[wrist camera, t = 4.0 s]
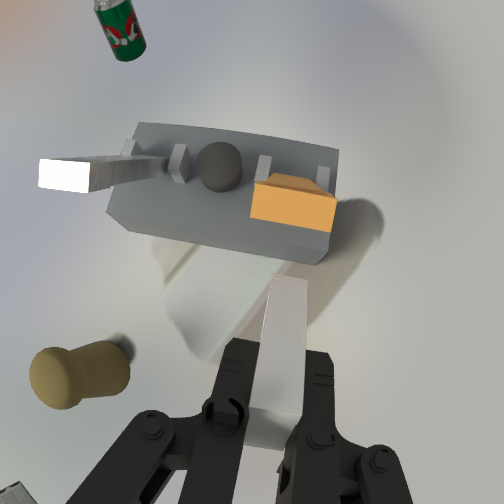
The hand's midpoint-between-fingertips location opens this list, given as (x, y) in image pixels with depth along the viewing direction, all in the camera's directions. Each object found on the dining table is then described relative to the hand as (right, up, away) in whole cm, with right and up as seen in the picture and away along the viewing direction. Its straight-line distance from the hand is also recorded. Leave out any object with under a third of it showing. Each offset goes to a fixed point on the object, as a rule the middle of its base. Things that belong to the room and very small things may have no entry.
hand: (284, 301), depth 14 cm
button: (-4, +9, +14) cm, 17 cm away
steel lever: (-10, +10, +13) cm, 19 cm away
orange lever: (+2, +8, +13) cm, 15 cm away
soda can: (-20, +33, +26) cm, 46 cm away
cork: (-17, -10, +16) cm, 25 cm away
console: (-4, +7, +20) cm, 21 cm away
